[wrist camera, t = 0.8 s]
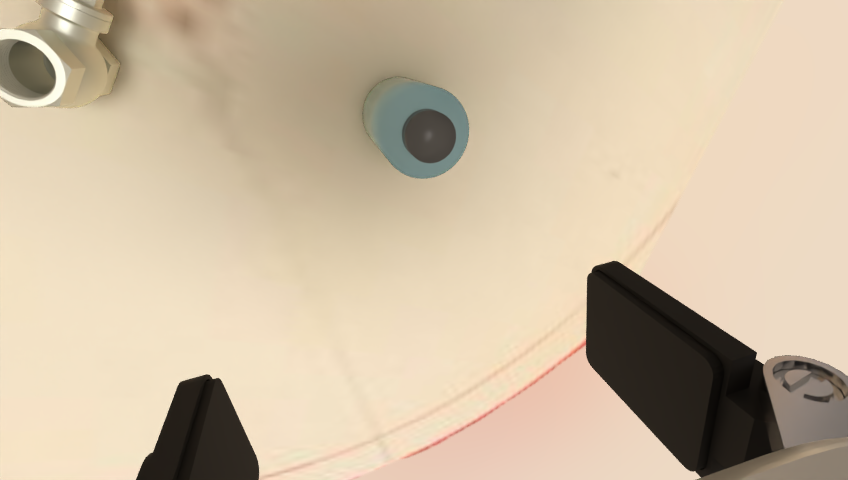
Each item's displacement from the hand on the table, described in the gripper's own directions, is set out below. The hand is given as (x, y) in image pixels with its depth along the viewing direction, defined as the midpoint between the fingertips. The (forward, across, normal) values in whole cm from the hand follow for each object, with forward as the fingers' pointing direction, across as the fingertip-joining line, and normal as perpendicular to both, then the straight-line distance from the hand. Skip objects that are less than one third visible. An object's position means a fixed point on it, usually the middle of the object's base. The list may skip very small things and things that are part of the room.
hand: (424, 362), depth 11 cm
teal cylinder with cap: (+23, -5, -2) cm, 24 cm away
